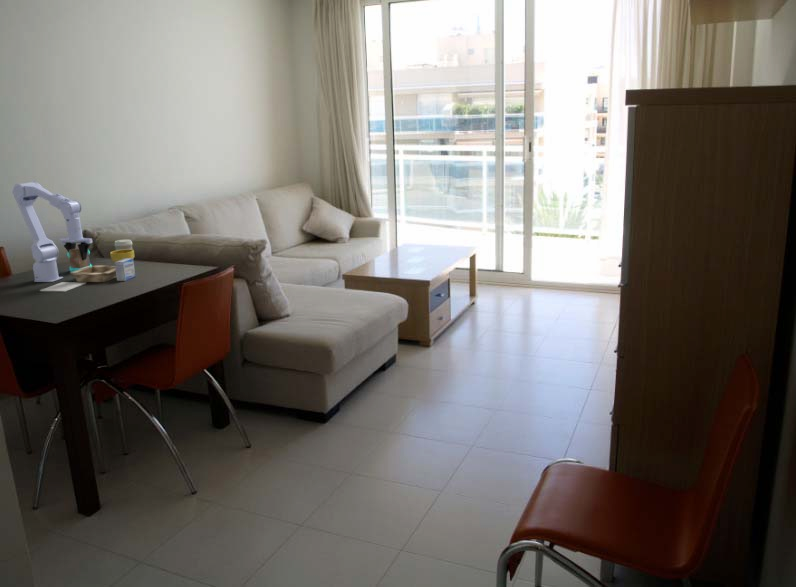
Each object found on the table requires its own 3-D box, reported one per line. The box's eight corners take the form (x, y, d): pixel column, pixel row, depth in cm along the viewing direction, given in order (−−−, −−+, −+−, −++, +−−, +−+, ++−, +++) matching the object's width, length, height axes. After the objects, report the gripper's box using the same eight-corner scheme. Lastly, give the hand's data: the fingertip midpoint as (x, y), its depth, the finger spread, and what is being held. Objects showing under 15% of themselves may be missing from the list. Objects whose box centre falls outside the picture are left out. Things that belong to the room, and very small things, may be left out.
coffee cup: (119, 263, 340) (116, 239, 337) (137, 262, 341) (134, 238, 338) (114, 267, 332) (111, 242, 329) (133, 265, 333) (129, 241, 330)
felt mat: (40, 291, 289) (39, 290, 289) (62, 283, 302) (62, 282, 302) (64, 291, 287) (64, 290, 287) (86, 283, 300) (85, 282, 300)
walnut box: (70, 268, 297) (68, 249, 296) (81, 265, 304) (79, 247, 303) (80, 268, 297) (77, 249, 295) (90, 265, 303) (88, 247, 302)
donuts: (93, 249, 326) (75, 253, 318) (97, 269, 328) (78, 273, 320) (80, 247, 331) (61, 251, 323) (84, 267, 333) (65, 272, 325)
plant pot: (110, 274, 315) (107, 254, 313) (116, 270, 325) (113, 249, 322) (134, 273, 317) (131, 252, 314) (138, 268, 326) (135, 248, 324)
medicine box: (125, 281, 301) (123, 262, 299) (116, 281, 302) (114, 262, 300) (136, 277, 309) (133, 258, 306) (127, 276, 310) (124, 258, 307)
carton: (67, 282, 302) (66, 273, 301) (92, 274, 319) (90, 265, 317) (106, 283, 298) (104, 274, 297) (128, 274, 314) (127, 265, 313)
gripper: (53, 230, 294) (58, 261, 297) (83, 230, 291) (88, 261, 294) (64, 227, 300) (69, 258, 304) (93, 227, 297) (98, 258, 301)
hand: (79, 259), depth 299 cm, fingers closed on walnut box, 4 cm apart
